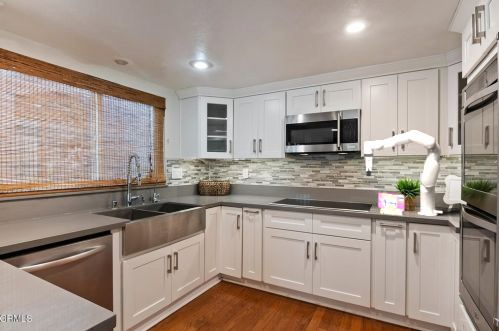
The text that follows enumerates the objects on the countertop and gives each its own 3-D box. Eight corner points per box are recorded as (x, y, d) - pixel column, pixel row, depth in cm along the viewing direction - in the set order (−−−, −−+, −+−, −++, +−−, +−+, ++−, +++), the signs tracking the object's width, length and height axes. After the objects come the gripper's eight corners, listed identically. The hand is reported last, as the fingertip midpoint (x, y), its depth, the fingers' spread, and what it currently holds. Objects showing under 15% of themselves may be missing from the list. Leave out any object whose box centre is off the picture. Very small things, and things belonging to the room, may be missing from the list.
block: (394, 209, 213) (394, 204, 213) (393, 210, 209) (393, 205, 209) (388, 209, 215) (388, 204, 215) (388, 209, 212) (388, 204, 212)
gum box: (376, 207, 243) (376, 192, 243) (384, 206, 245) (384, 192, 245) (396, 211, 220) (396, 195, 220) (404, 211, 222) (404, 195, 221)
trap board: (402, 212, 216) (402, 208, 216) (401, 215, 206) (401, 211, 206) (381, 210, 224) (381, 207, 224) (380, 213, 214) (380, 209, 214)
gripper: (373, 155, 218) (373, 176, 218) (372, 156, 234) (372, 175, 234) (363, 155, 221) (364, 176, 221) (363, 156, 237) (363, 175, 237)
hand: (368, 175), depth 228 cm, fingers open, 9 cm apart
